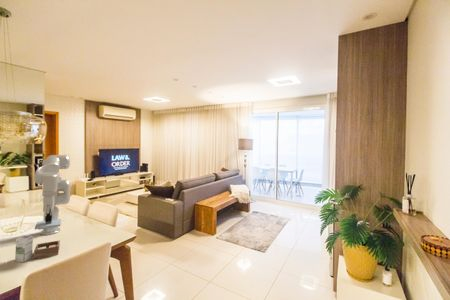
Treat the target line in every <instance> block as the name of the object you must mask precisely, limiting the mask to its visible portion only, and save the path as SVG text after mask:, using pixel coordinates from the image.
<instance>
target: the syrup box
mask: <svg viewBox="0 0 450 300" xmlns="http://www.w3.org/2000/svg"><path fill="white" fill-rule="evenodd" d="M33 242H34V236H33V235H21V236H19V237H18V238H16V239H15V260H14V261H15V262H22V263H23V262H27V261H28V260H30V259H31V258H33V246H34V243H33Z"/></svg>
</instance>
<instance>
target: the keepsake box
mask: <svg viewBox="0 0 450 300" xmlns="http://www.w3.org/2000/svg"><path fill="white" fill-rule="evenodd" d="M60 243H61V242H60V240H53V241H48V242H42V243H37V244H36V245H35V247H34V250H33V260H36V259H37V260H38V259H42V258H48V257H51V256H52V257H54V256H58V255H59V252H60V245H61V244H60ZM52 245H57V246H55V247H50V248H49V246H52ZM45 246H46V248H44V249H38V248H41V247H45Z"/></svg>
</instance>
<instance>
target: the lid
mask: <svg viewBox="0 0 450 300" xmlns="http://www.w3.org/2000/svg"><path fill="white" fill-rule="evenodd" d="M51 215H52V211H51ZM61 224H62V219H61V218H60V219H59V218H58V219H57V220H52V221H49V222H45V221H36V224H35V226H34V230H38V231H41V230H43V229H47V228H55V227H57V226H58V227H60V226H61Z"/></svg>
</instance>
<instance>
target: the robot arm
mask: <svg viewBox="0 0 450 300" xmlns="http://www.w3.org/2000/svg"><path fill="white" fill-rule="evenodd" d="M70 163H71V159H70V156H68V155H67V154H51V155H49V156H47V157H46V159H44V160H43V161H42V163H41V164H42V165H41V166H40V167H38V168H37V169H36V170H35V174H34V176H33V177H34V178H33V180H34V183H35V184H38V185H42V190H41V191H42V193H41V195H42V205H43V206H42V212H43V221H45V222H49V221H52V220H57V219H59V215H60V214H59V212H60V209H59V208H58V205H66V204H69V203H70V201H71V182H70V180H69V179H62V178H63V176H62V174H61V173H60V172H58V171H60V170H68V169H69V168H70V165H71V164H70ZM51 211H52V215H51ZM60 231H61V227H59V226H57V227H55V228H47V229H41V230H40V232H39V233H40V235H41V236H45V235H46V236H48V235H55V234H57V233H59V232H60Z"/></svg>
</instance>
